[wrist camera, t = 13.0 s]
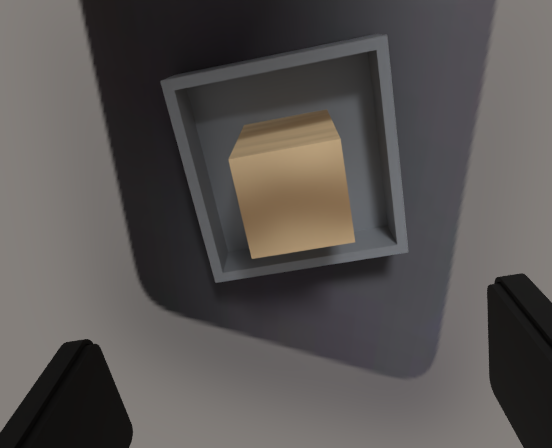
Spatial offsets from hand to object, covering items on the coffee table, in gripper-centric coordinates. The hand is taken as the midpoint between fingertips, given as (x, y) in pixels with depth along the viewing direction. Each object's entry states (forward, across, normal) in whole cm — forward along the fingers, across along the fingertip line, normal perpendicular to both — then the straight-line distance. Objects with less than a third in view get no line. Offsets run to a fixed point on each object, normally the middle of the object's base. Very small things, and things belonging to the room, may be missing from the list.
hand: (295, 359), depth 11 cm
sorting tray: (+20, 0, 0) cm, 20 cm away
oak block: (+19, 0, 0) cm, 19 cm away
